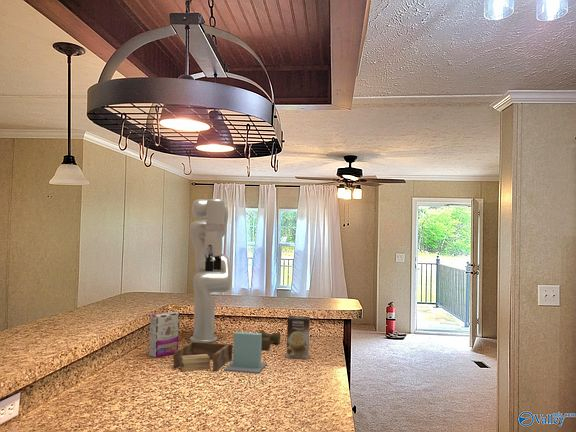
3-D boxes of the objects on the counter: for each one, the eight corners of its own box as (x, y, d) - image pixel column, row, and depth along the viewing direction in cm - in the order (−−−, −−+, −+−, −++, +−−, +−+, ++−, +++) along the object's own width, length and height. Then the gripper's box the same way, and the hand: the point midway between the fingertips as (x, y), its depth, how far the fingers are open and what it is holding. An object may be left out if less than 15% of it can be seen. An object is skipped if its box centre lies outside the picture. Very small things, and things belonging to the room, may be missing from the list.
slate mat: (233, 362, 177) (233, 360, 177) (266, 364, 174) (266, 363, 174) (223, 370, 165) (224, 369, 165) (259, 373, 162) (259, 371, 163)
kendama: (252, 351, 197) (261, 339, 217) (274, 353, 196) (281, 341, 216) (253, 337, 197) (262, 327, 217) (275, 339, 196) (282, 328, 216)
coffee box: (285, 358, 185) (286, 318, 185) (287, 354, 191) (288, 315, 192) (308, 359, 184) (309, 319, 184) (309, 355, 190) (310, 316, 191)
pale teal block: (235, 363, 172) (236, 331, 173) (260, 365, 170) (261, 333, 171) (232, 366, 169) (233, 333, 170) (259, 368, 167) (260, 334, 168)
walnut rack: (188, 356, 183) (189, 341, 183) (232, 359, 180) (232, 344, 180) (171, 367, 167) (171, 351, 167) (218, 371, 163) (218, 354, 164)
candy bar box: (170, 351, 191) (172, 311, 192) (178, 353, 188) (180, 312, 189) (148, 356, 182) (149, 314, 183) (155, 358, 179) (157, 316, 180)
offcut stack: (180, 368, 167) (180, 355, 167) (207, 366, 171) (207, 354, 171) (182, 372, 163) (183, 359, 163) (210, 369, 166) (210, 357, 167)
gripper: (213, 229, 198) (211, 268, 198) (198, 228, 181) (196, 271, 181) (229, 229, 197) (228, 269, 196) (216, 228, 180) (214, 272, 179)
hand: (213, 270), depth 188 cm, fingers open, 9 cm apart
